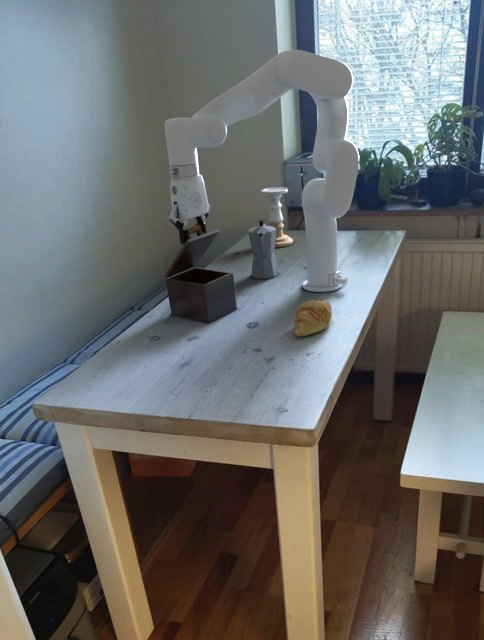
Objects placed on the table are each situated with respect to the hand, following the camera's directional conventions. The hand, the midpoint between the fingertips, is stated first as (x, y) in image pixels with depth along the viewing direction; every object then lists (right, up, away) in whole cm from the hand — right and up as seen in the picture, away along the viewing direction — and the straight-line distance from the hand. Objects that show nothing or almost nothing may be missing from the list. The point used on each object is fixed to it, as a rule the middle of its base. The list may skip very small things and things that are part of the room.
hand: (193, 240), depth 169 cm
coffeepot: (+20, +2, +39) cm, 44 cm away
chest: (+2, -17, +11) cm, 21 cm away
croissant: (+33, -25, -4) cm, 41 cm away
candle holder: (+24, +24, +73) cm, 80 cm away
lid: (-1, -3, +3) cm, 4 cm away
